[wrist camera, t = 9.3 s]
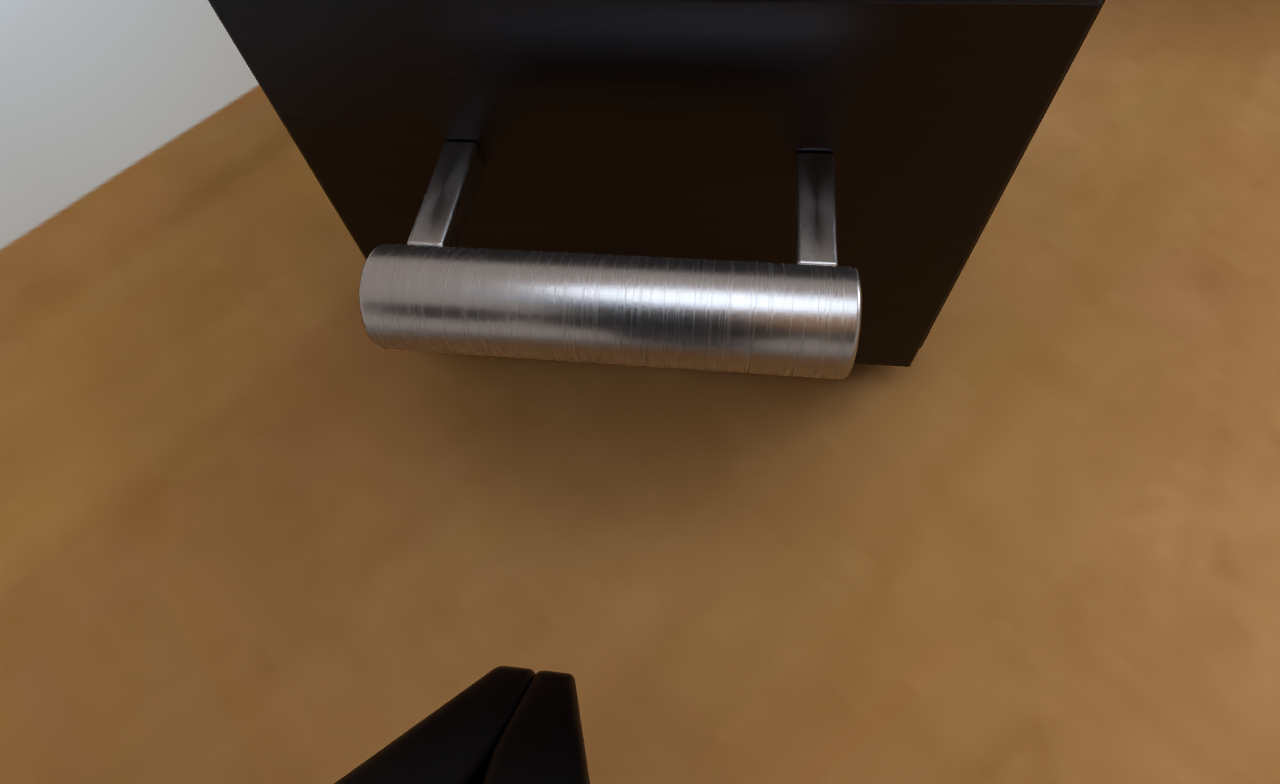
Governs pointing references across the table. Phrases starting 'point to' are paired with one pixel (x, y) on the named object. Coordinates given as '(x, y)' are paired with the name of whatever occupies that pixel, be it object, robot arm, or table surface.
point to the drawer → (661, 166)
